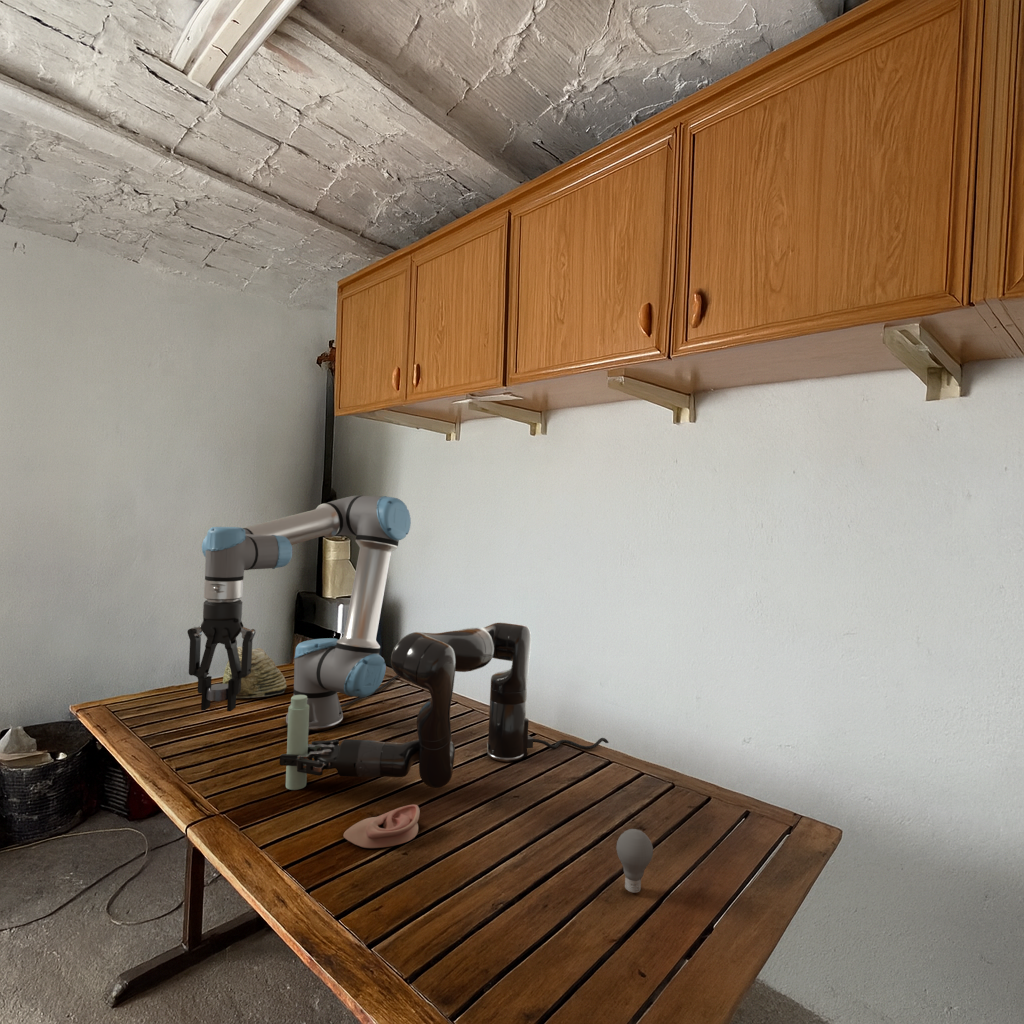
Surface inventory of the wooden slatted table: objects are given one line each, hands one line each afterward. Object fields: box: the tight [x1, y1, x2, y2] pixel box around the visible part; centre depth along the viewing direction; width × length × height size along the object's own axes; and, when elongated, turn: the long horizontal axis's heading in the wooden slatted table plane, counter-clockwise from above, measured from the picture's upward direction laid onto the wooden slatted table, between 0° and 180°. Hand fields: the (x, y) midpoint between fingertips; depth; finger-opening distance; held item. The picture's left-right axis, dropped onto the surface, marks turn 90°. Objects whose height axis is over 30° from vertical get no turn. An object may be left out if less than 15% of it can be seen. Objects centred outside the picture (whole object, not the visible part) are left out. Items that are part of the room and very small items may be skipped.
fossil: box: [222, 646, 288, 699], centre depth 198 cm, size 9×18×15 cm, turn 132°
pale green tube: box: [285, 695, 309, 791], centre depth 138 cm, size 4×4×20 cm
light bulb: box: [615, 828, 654, 894], centre depth 106 cm, size 6×6×10 cm
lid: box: [206, 683, 228, 702], centre depth 135 cm, size 5×5×2 cm
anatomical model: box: [342, 804, 421, 849], centre depth 120 cm, size 13×4×12 cm
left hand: (218, 708), depth 135 cm, fingers closed on lid, 5 cm apart
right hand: (284, 755), depth 138 cm, fingers closed on pale green tube, 4 cm apart
